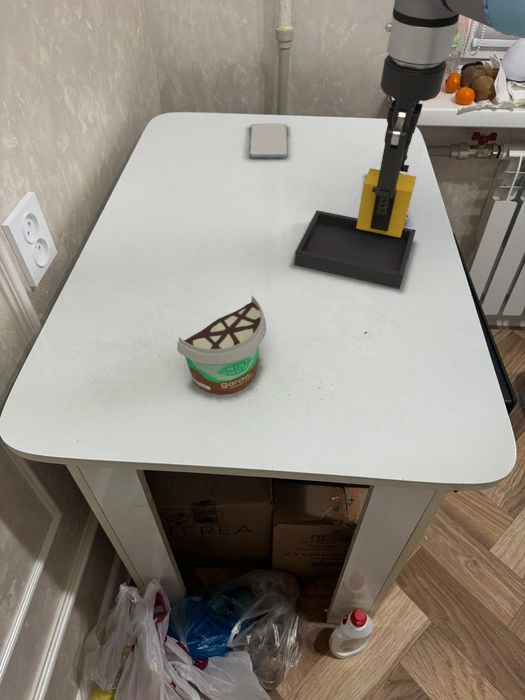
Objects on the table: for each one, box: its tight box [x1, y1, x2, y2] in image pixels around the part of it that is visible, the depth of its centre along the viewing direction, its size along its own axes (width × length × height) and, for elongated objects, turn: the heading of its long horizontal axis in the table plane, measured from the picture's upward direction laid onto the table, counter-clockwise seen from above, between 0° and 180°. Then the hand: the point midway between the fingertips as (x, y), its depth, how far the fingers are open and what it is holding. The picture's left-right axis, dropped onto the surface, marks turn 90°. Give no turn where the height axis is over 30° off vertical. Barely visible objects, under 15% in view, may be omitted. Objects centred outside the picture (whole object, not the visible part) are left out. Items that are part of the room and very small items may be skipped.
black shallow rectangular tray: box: [294, 210, 417, 290], centre depth 84 cm, size 18×13×3 cm
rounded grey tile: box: [248, 123, 289, 159], centre depth 111 cm, size 8×1×15 cm
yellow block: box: [356, 167, 417, 237], centre depth 77 cm, size 7×4×8 cm, turn 70°
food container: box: [176, 295, 267, 396], centre depth 64 cm, size 12×6×10 cm, turn 129°
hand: (382, 218), depth 79 cm, fingers closed on yellow block, 4 cm apart
